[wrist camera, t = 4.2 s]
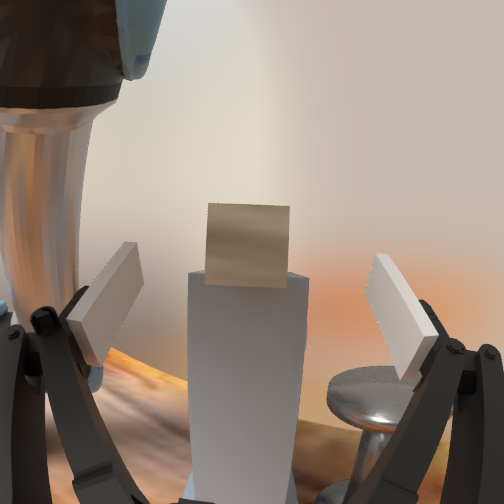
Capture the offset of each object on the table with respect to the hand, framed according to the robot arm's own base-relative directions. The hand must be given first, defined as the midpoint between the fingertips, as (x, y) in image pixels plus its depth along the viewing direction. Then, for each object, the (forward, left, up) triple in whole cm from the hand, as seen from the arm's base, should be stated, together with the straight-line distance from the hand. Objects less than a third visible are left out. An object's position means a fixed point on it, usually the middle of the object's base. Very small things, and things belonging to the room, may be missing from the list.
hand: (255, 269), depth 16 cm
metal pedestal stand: (+4, +17, -31) cm, 35 cm away
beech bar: (-9, +9, -1) cm, 13 cm away
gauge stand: (-11, +10, -31) cm, 34 cm away
